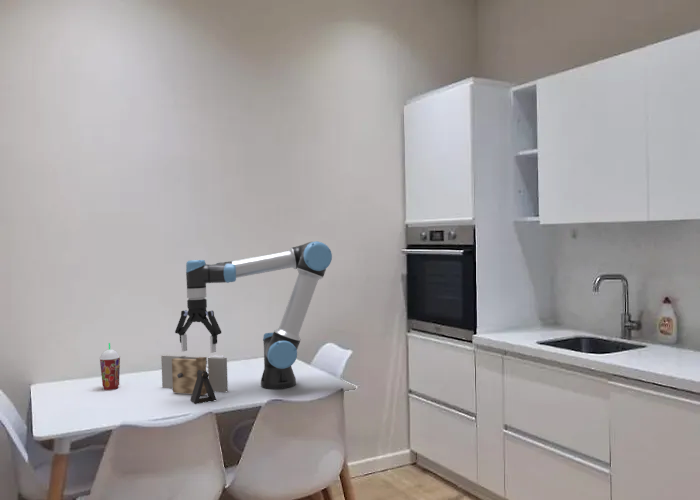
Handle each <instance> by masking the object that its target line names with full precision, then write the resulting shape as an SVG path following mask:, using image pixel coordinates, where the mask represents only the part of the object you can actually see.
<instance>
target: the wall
mask: <svg viewBox="0 0 700 500" xmlns="http://www.w3.org/2000/svg"><path fill="white" fill-rule="evenodd" d="M160 356H161V357H160V358H161V383H162V385H161V386H162V388H163V389H173V379H172V359H174V358H175V359H195V360H196V358H198V357H199V356H197V355H196V356H194V355H177V354H176V355H175V354H174V355H170V354H169V355H168V354H162V355H160ZM205 357H206V364H207V366H208V368H207V371H208V372H207V373H208V375H209V376H208V379H209V382H210V384H211V386H212V389H213V391H214V392H215V391H216V393H217V392H218V393H226V391H227V392H229V388H228V387H229V385H228V384H229V383H228V358H227V357H224V358H218V357H210V358H208V357H207V356H205ZM207 359H208V361H207Z"/></svg>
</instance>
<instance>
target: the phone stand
mask: <svg viewBox="0 0 700 500" xmlns="http://www.w3.org/2000/svg"><path fill="white" fill-rule="evenodd" d="M203 373H204V374H203ZM202 374H203V375H202ZM203 382H204V385H205V388H206V392H207V394H206V395H207V396H206V397H201V396H202V395H201V390H202V386H203ZM214 400H216V401H218V400H217V397H216V394H215V391H213V389H212V386H211V384H210V382H209V375H208V372H207V370H206V371H204V370H202V371H201V370H198V371H197V380H196V383H195V386H194V390H193V393H192V394H191V396H190V401H191V402H192V403H193V404H195V405H197V404H204V403H209V402H208V401H211V402H215V401H214ZM203 402H204V403H203Z"/></svg>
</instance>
